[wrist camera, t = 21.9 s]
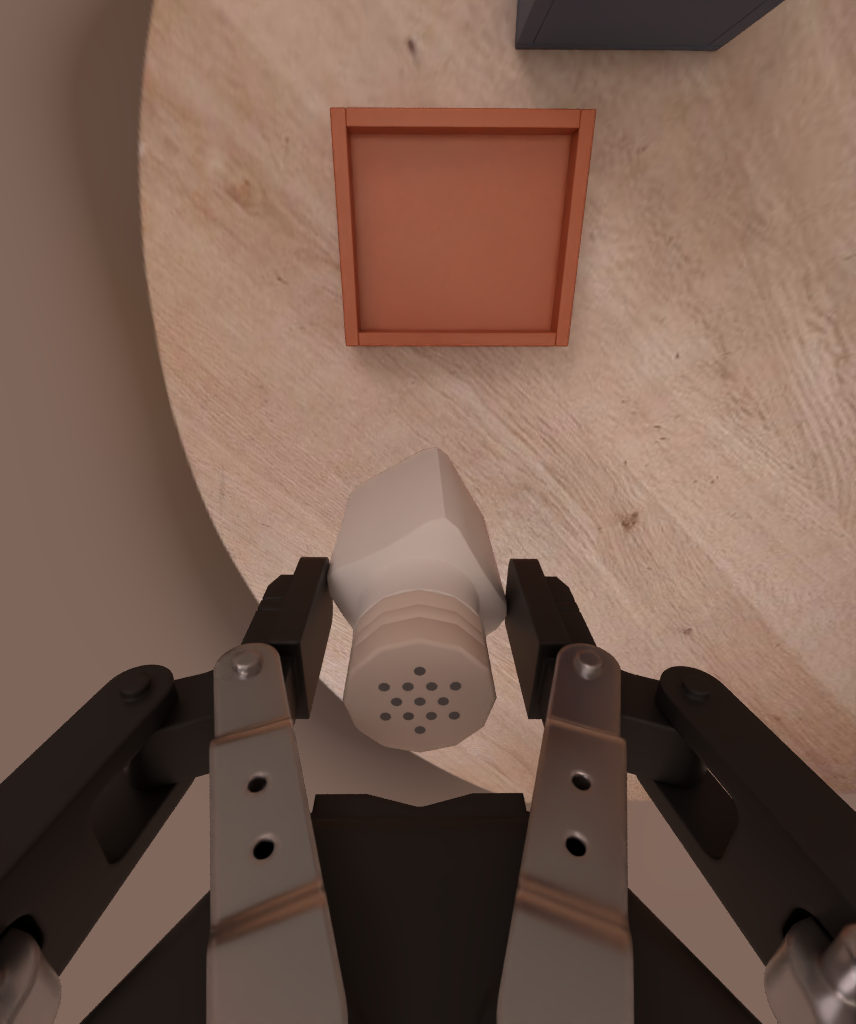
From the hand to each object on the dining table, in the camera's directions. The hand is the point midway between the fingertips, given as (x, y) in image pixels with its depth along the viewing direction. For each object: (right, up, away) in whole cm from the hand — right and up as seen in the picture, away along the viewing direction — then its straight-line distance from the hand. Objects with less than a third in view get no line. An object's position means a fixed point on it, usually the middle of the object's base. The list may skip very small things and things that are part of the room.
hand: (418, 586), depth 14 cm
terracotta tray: (+2, +18, +16) cm, 24 cm away
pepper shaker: (0, +2, +5) cm, 6 cm away
